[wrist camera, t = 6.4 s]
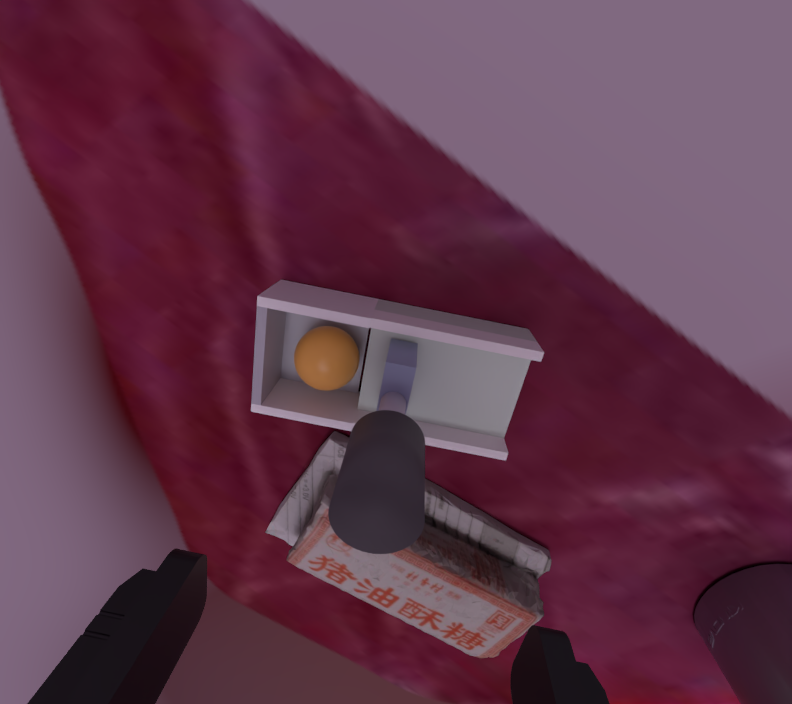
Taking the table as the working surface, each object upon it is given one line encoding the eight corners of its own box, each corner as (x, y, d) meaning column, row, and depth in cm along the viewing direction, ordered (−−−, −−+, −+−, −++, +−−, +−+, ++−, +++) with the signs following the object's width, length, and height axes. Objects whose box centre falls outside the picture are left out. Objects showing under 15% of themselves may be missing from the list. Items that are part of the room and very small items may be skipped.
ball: (290, 334, 20) (304, 312, 23) (284, 396, 22) (298, 367, 25) (361, 346, 20) (365, 322, 24) (351, 407, 22) (356, 377, 25)
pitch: (528, 329, 23) (544, 352, 20) (496, 426, 26) (505, 460, 23) (378, 298, 23) (371, 317, 20) (361, 399, 26) (351, 430, 23)
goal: (378, 298, 23) (370, 318, 20) (361, 399, 26) (351, 431, 22) (281, 279, 23) (257, 296, 20) (273, 382, 26) (251, 411, 22)
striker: (432, 346, 22) (438, 477, 12) (417, 412, 23) (410, 572, 14) (376, 335, 22) (336, 456, 12) (363, 401, 23) (321, 555, 14)
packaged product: (575, 609, 25) (477, 687, 29) (553, 544, 30) (470, 619, 33) (315, 471, 23) (242, 576, 26) (333, 422, 27) (269, 518, 31)
